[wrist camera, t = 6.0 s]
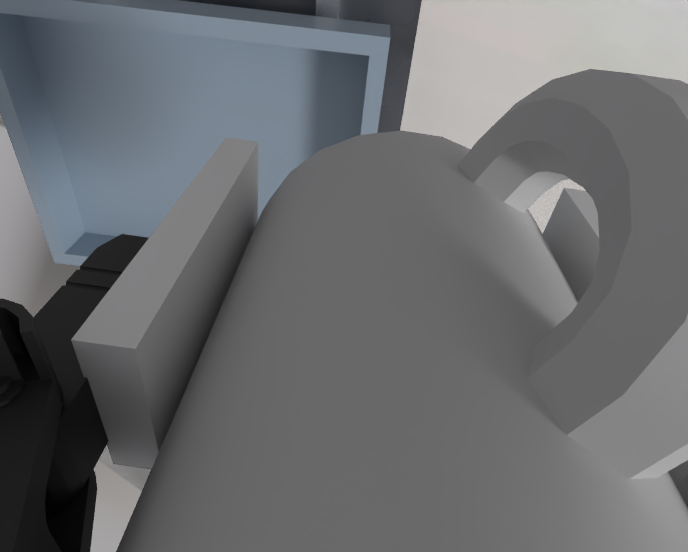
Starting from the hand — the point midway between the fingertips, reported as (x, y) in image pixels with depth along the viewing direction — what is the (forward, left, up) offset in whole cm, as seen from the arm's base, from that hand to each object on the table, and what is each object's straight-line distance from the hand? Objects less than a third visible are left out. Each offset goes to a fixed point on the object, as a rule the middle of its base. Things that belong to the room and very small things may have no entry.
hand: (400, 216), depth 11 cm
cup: (0, -1, 0) cm, 1 cm away
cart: (-5, +10, -18) cm, 21 cm away
